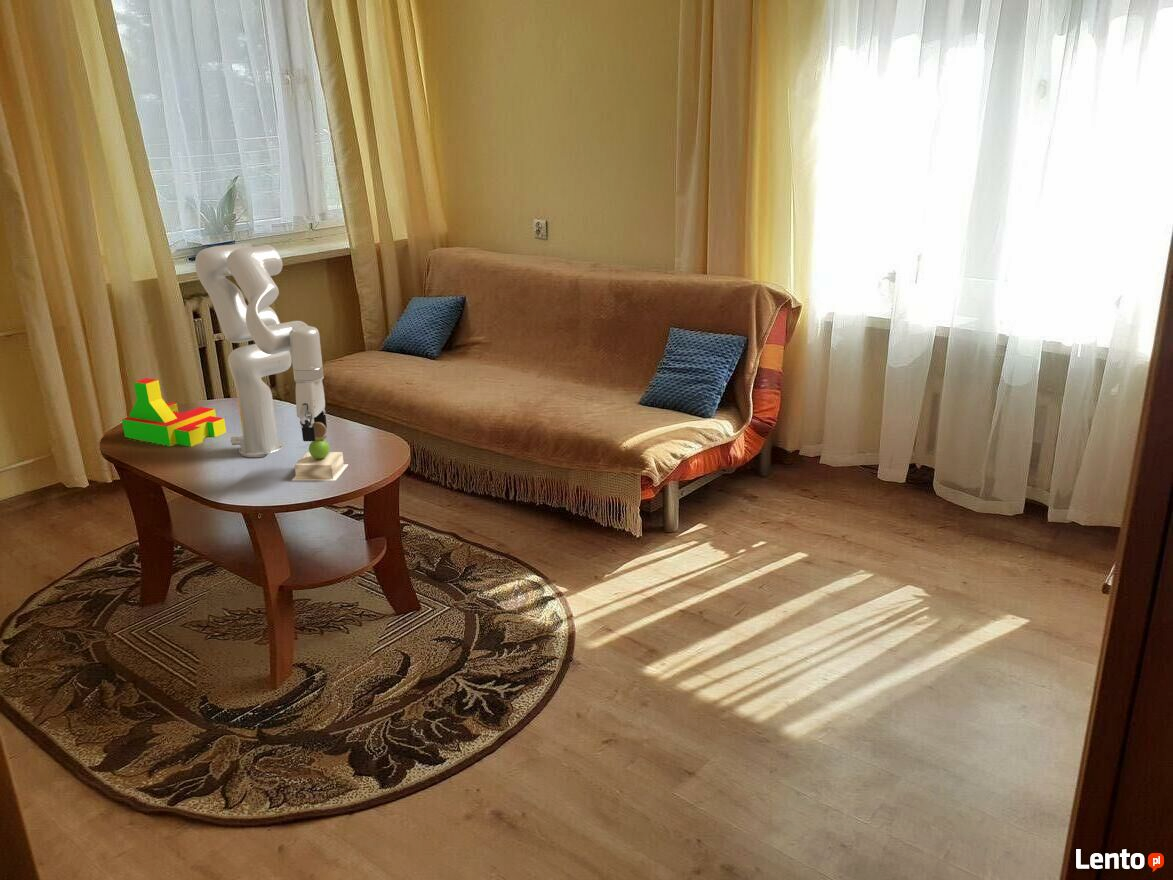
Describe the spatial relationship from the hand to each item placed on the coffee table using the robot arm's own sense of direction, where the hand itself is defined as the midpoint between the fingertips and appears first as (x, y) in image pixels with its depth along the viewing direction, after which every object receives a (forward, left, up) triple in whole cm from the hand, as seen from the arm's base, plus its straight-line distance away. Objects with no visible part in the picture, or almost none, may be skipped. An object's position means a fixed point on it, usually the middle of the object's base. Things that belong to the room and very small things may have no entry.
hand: (315, 434), depth 250 cm
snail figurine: (0, 0, -7) cm, 7 cm away
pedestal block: (0, 0, -11) cm, 11 cm away
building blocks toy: (-56, +34, -12) cm, 67 cm away
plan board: (-3, +1, -12) cm, 12 cm away
